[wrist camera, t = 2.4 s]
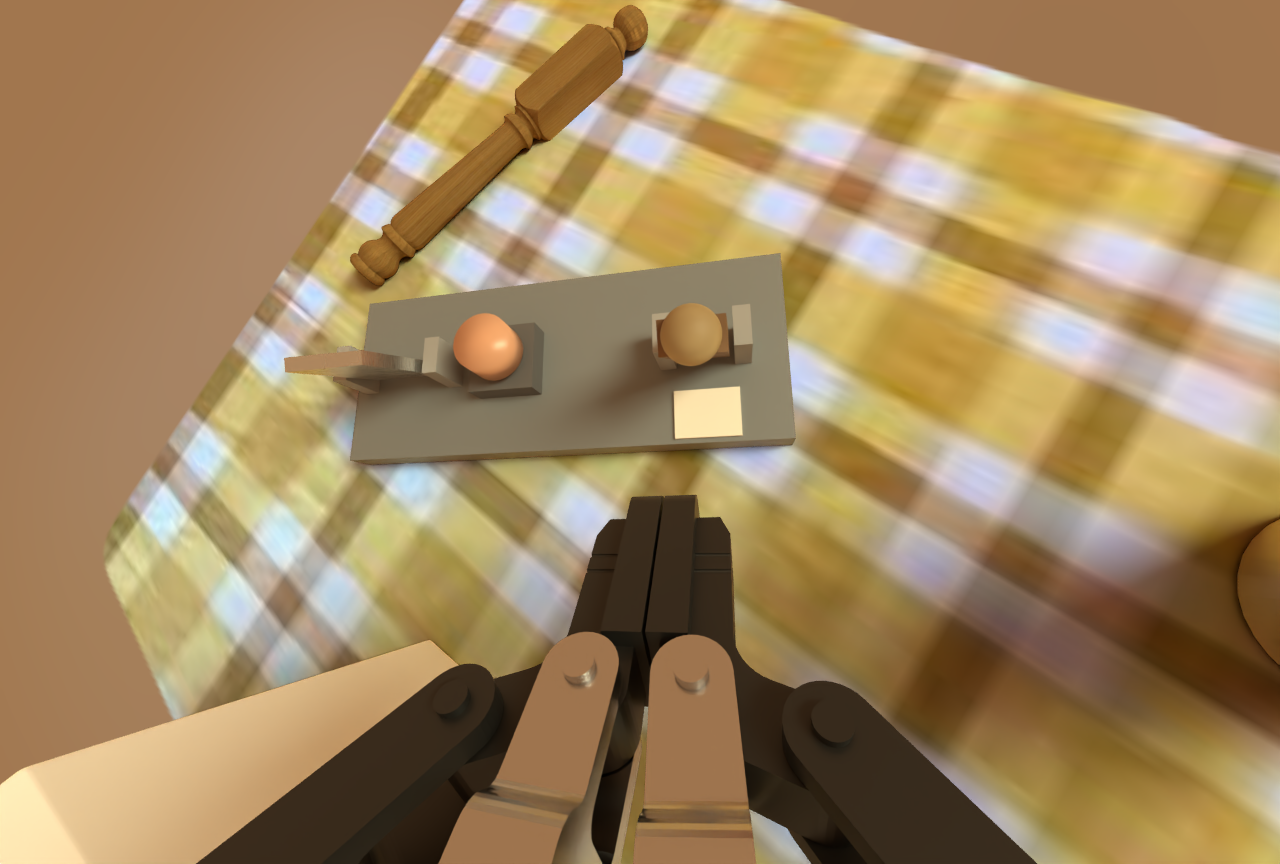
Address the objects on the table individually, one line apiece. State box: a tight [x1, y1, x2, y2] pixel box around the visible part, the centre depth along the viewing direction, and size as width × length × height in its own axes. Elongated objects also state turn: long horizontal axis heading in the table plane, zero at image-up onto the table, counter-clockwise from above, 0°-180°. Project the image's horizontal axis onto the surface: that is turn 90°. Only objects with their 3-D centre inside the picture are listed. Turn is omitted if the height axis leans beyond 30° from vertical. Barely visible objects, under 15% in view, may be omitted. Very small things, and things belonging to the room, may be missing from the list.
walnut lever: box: [656, 303, 730, 366], centre depth 24 cm, size 3×3×11 cm
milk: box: [0, 640, 459, 864], centre depth 20 cm, size 6×6×22 cm
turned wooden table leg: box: [350, 5, 648, 285], centre depth 38 cm, size 3×3×30 cm
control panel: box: [333, 253, 796, 465], centre depth 32 cm, size 12×30×5 cm, turn 91°
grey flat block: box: [284, 350, 426, 380], centre depth 30 cm, size 1×5×7 cm, turn 89°
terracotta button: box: [453, 313, 523, 381], centre depth 30 cm, size 4×4×2 cm
